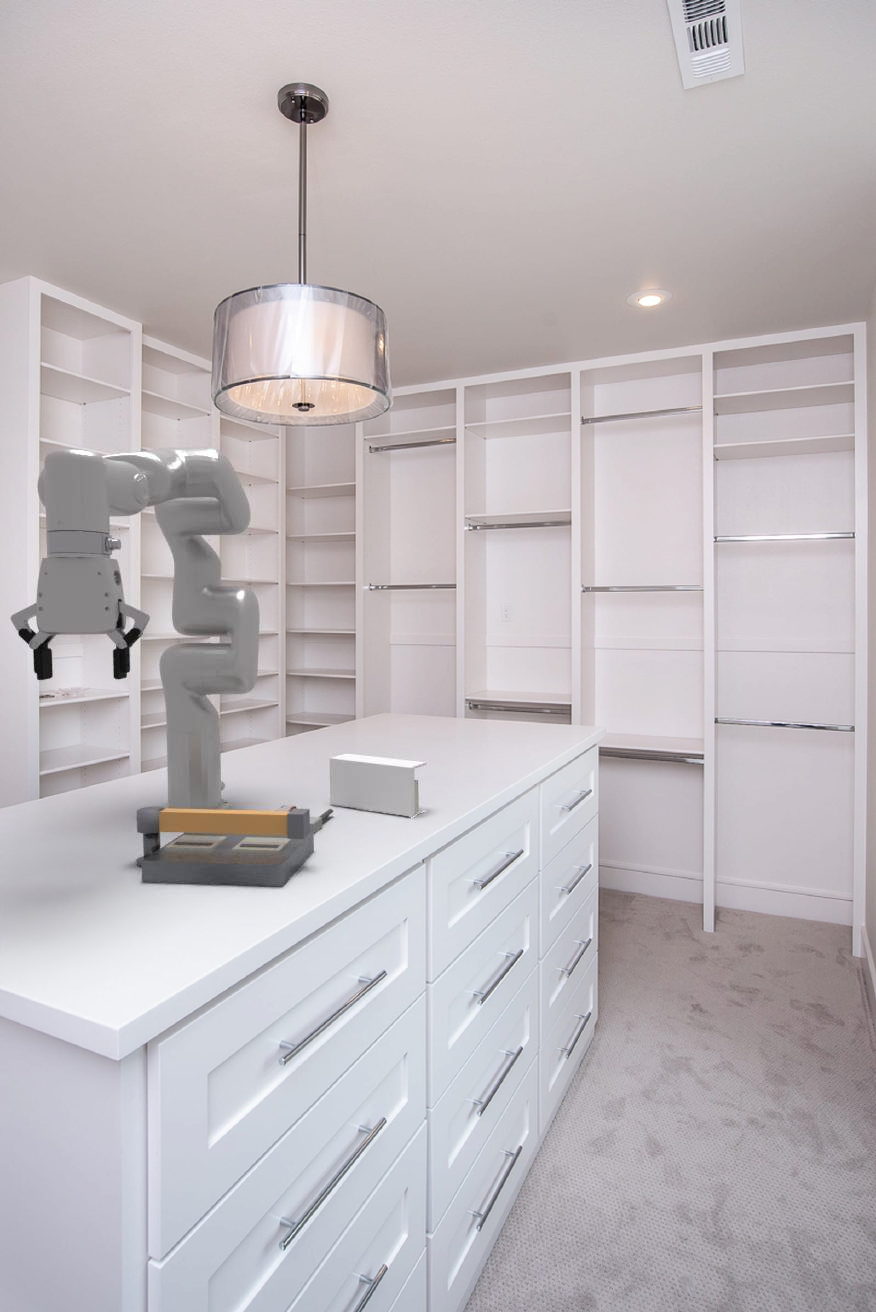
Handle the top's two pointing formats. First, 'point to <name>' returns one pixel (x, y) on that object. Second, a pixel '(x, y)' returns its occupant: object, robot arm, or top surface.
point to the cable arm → (224, 821)
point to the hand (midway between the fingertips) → (82, 678)
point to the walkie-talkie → (314, 821)
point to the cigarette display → (375, 784)
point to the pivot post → (149, 845)
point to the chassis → (228, 859)
